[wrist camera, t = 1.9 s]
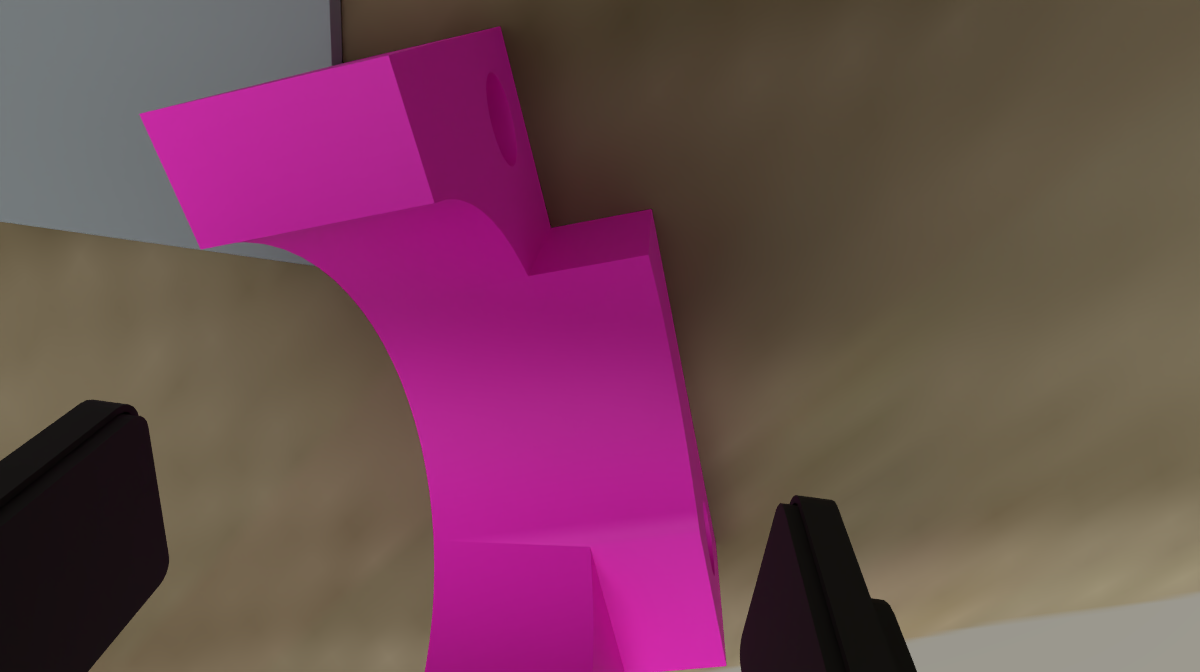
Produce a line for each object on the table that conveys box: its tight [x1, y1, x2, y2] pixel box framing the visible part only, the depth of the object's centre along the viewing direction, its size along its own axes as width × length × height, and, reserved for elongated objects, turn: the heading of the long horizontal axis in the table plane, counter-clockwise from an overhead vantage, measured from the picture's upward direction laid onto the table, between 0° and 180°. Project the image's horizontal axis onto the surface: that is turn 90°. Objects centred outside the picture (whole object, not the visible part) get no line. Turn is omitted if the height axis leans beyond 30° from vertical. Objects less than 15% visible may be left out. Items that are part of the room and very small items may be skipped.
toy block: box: [139, 26, 726, 672], centre depth 16 cm, size 15×6×8 cm, turn 12°
